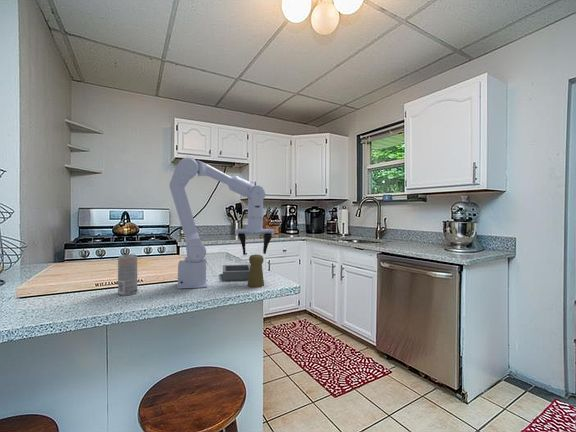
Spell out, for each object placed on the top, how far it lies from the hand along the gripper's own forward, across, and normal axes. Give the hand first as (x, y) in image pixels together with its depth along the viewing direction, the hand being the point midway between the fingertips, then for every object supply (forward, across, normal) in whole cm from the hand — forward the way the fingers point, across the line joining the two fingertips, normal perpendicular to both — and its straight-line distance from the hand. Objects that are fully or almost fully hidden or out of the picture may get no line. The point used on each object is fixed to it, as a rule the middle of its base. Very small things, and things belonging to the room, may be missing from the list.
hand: (254, 253), depth 108 cm
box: (+10, -6, +6) cm, 13 cm away
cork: (+11, 0, -6) cm, 12 cm away
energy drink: (+11, -41, -8) cm, 43 cm away
